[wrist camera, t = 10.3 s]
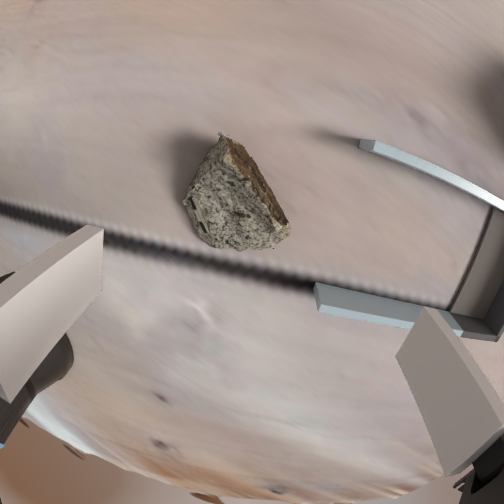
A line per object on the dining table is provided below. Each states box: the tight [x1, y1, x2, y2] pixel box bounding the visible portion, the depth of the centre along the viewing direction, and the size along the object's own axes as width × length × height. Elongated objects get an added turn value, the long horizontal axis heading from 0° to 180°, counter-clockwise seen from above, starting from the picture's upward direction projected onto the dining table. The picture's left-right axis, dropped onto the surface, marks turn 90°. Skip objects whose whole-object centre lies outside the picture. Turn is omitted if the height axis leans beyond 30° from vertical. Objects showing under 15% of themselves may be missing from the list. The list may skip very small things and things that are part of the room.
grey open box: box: [448, 208, 504, 342], centre depth 24 cm, size 8×15×4 cm, turn 167°
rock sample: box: [182, 132, 290, 251], centre depth 24 cm, size 10×8×9 cm
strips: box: [313, 139, 504, 337], centre depth 24 cm, size 17×15×4 cm
